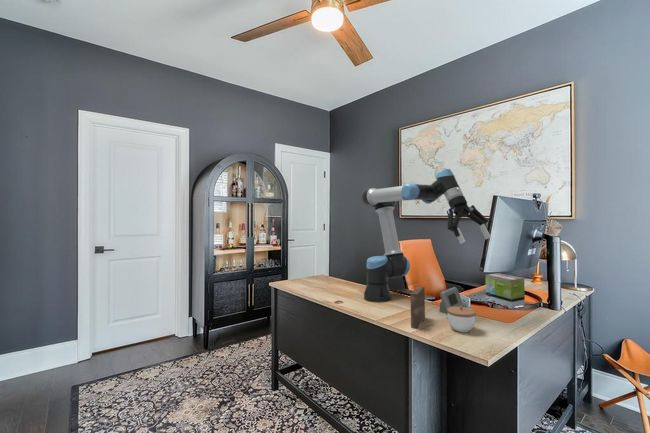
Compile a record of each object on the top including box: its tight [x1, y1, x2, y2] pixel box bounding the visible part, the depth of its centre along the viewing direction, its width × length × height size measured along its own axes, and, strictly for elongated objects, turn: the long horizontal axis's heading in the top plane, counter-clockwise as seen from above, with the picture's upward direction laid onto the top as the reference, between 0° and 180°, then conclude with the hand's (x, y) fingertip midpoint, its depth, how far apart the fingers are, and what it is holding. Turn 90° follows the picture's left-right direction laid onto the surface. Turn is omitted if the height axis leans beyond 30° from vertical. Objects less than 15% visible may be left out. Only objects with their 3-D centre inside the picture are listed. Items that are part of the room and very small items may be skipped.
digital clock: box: [439, 286, 464, 315], centre depth 149 cm, size 16×9×11 cm, turn 123°
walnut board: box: [410, 286, 426, 329], centre depth 134 cm, size 2×15×14 cm, turn 150°
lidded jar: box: [446, 305, 477, 333], centre depth 125 cm, size 11×11×9 cm
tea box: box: [484, 272, 526, 310], centre depth 159 cm, size 15×10×15 cm, turn 23°
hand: (475, 240), depth 136 cm, fingers open, 13 cm apart
